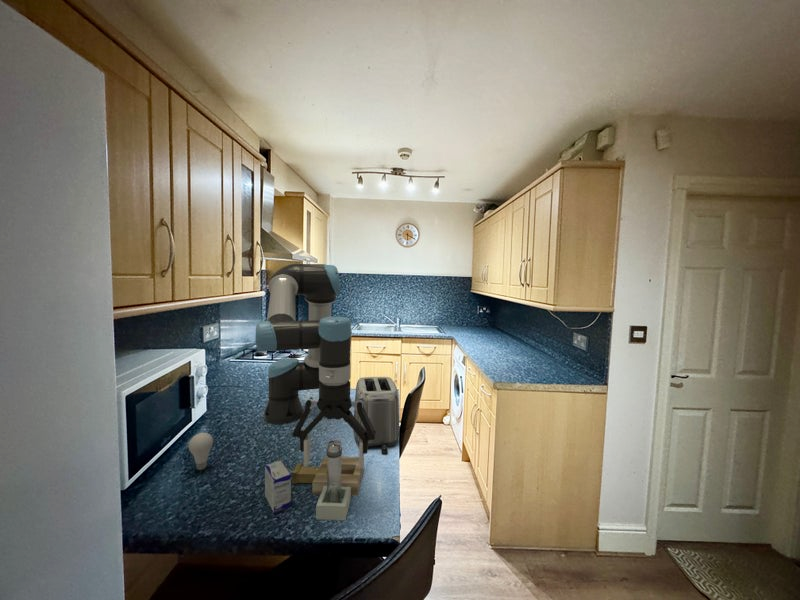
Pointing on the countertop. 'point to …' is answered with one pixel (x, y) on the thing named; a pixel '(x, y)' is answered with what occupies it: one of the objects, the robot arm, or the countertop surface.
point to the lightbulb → (201, 449)
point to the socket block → (348, 475)
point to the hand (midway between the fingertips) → (334, 464)
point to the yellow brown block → (306, 473)
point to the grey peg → (334, 471)
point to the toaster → (379, 409)
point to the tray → (333, 505)
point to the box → (278, 486)
